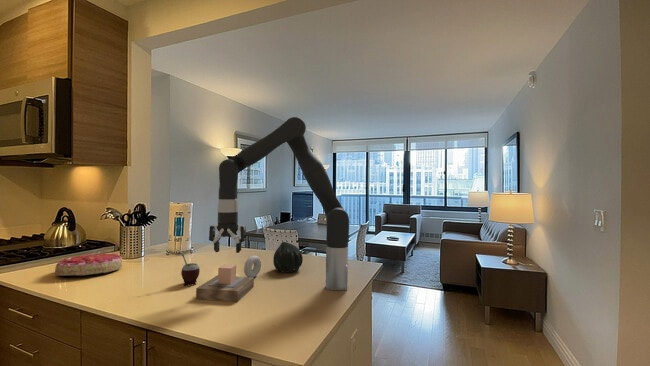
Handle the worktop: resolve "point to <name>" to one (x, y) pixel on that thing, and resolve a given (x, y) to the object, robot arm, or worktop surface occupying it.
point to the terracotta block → (226, 274)
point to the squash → (287, 258)
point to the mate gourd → (189, 272)
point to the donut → (248, 266)
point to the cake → (88, 265)
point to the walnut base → (225, 289)
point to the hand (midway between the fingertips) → (227, 252)
